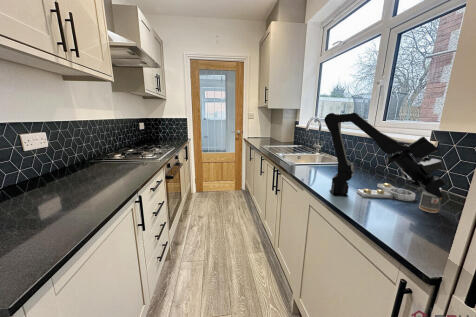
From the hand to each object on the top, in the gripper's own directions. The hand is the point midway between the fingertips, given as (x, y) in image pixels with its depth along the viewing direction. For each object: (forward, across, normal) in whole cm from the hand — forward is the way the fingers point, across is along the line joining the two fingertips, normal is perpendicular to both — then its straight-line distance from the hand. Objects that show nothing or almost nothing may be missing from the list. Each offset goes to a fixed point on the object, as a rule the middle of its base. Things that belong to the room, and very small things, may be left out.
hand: (436, 194), depth 76 cm
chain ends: (-4, +15, +14) cm, 21 cm away
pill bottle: (+4, 0, +6) cm, 7 cm away
